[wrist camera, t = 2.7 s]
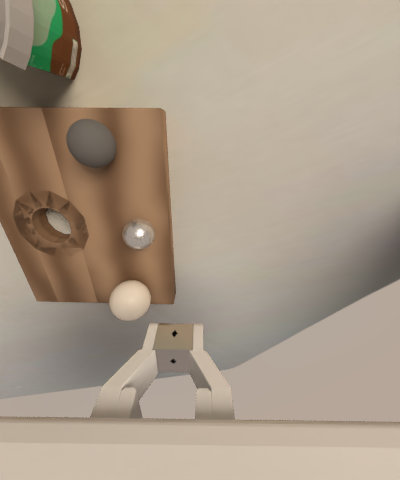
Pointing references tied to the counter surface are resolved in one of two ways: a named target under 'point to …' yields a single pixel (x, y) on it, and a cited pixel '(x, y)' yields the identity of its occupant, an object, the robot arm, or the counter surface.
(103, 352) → the counter surface
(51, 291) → the board
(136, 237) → the steel ball
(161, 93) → the counter surface
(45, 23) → the food container
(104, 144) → the gray rubber ball
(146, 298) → the cream plastic ball
